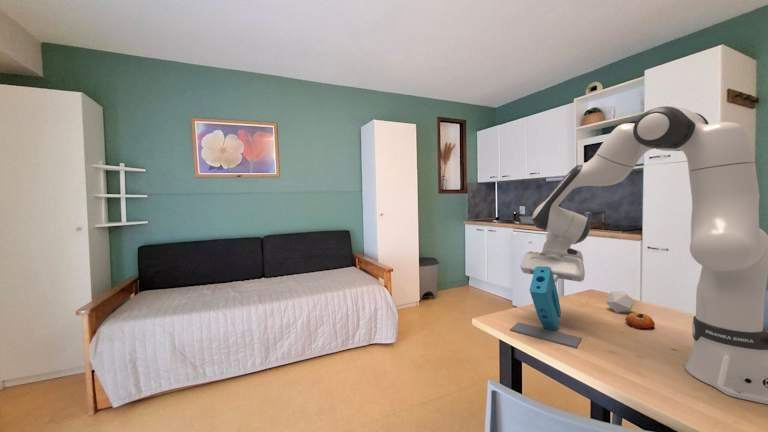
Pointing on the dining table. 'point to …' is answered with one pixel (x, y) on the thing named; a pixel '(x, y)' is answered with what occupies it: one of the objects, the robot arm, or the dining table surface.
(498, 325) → the dining table surface
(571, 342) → the mat
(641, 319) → the tomato
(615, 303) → the die
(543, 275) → the block
